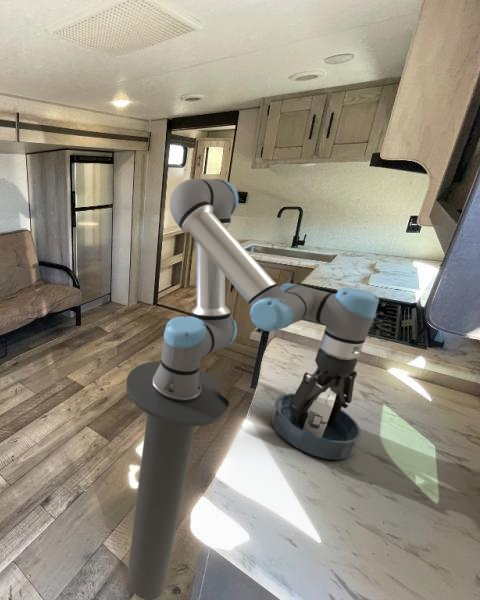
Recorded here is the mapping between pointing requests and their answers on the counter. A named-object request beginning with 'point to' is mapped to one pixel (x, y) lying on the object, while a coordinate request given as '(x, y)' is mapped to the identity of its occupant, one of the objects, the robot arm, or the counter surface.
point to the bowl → (330, 446)
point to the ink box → (319, 413)
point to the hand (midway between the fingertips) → (311, 427)
